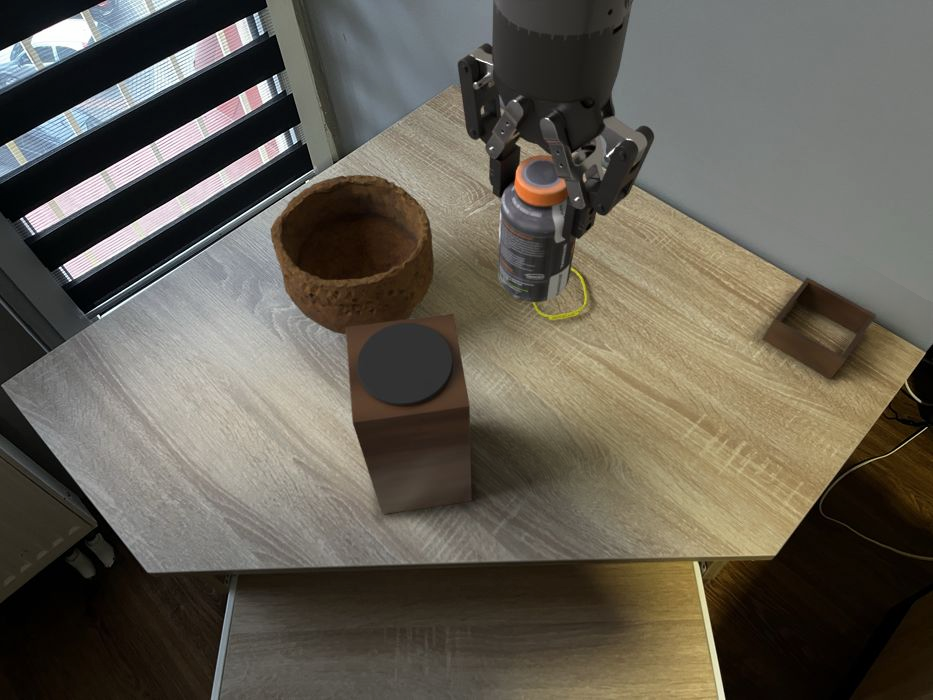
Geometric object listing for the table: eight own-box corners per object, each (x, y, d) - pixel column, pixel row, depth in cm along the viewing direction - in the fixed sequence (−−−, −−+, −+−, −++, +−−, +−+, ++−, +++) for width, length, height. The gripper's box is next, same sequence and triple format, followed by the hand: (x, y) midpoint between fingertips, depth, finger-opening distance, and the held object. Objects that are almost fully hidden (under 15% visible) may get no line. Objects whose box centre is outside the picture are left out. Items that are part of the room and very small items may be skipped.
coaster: (459, 399, 60) (458, 395, 59) (361, 413, 59) (360, 409, 59) (445, 320, 64) (445, 316, 64) (354, 332, 64) (353, 329, 63)
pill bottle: (581, 292, 57) (602, 189, 47) (514, 313, 56) (522, 212, 46) (550, 241, 60) (564, 135, 50) (486, 260, 59) (488, 155, 49)
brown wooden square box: (861, 333, 89) (876, 314, 86) (829, 379, 86) (844, 362, 82) (795, 296, 93) (807, 277, 89) (761, 339, 89) (772, 321, 86)
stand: (471, 501, 78) (469, 406, 59) (382, 514, 77) (352, 422, 59) (458, 422, 83) (453, 312, 65) (375, 434, 82) (345, 326, 64)
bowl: (318, 243, 99) (295, 162, 87) (448, 258, 97) (444, 177, 85) (278, 353, 89) (245, 279, 76) (422, 371, 87) (413, 299, 75)
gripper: (418, -30, 39) (433, 193, 53) (634, 76, 33) (587, 293, 47) (506, -81, 42) (498, 143, 56) (716, 9, 36) (649, 231, 50)
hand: (539, 211), depth 51 cm, fingers closed on pill bottle, 6 cm apart
